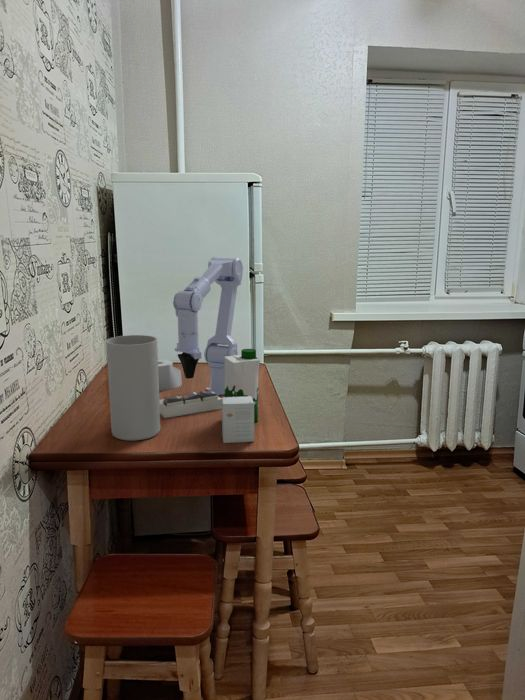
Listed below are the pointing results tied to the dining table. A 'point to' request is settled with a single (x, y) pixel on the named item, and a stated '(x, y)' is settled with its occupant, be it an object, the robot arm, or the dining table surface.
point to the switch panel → (189, 406)
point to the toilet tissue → (168, 375)
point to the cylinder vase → (133, 386)
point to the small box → (237, 419)
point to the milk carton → (242, 376)
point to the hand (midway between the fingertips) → (189, 377)
